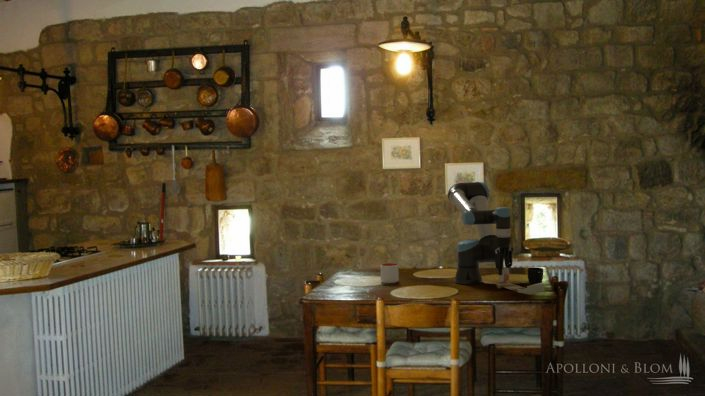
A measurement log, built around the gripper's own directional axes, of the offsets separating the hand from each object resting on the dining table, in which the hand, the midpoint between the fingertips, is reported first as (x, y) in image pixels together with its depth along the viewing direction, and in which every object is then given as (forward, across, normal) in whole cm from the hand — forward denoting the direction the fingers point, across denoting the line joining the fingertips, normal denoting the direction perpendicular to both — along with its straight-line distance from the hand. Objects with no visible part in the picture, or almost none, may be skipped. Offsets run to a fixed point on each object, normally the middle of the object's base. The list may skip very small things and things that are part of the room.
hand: (504, 280), depth 357 cm
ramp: (+4, 0, -5) cm, 6 cm away
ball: (-2, 0, 0) cm, 2 cm away
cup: (+4, -30, +57) cm, 64 cm away
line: (+4, 0, -12) cm, 13 cm away
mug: (+4, +12, -11) cm, 17 cm away
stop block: (+4, 0, -16) cm, 17 cm away
